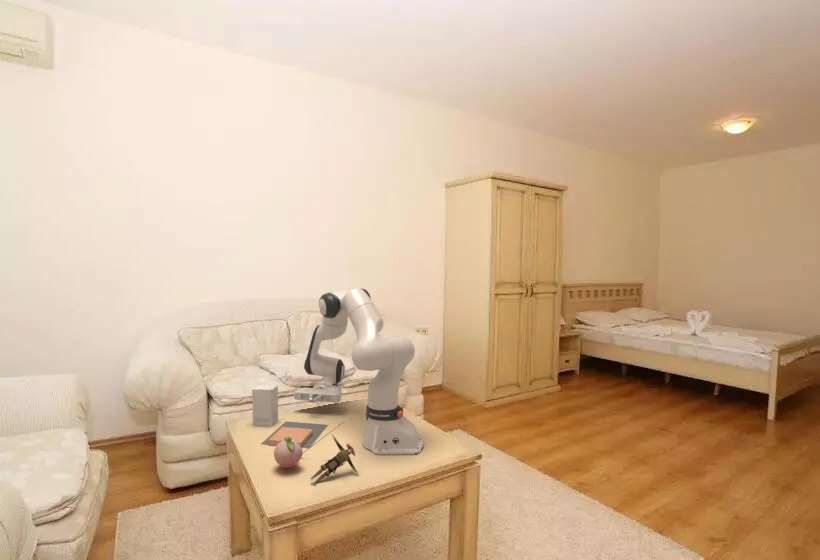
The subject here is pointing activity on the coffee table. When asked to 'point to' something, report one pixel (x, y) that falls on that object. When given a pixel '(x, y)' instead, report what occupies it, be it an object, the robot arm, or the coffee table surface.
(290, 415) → the coffee table surface
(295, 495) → the coffee table surface
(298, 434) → the tile
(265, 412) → the skincare box
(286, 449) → the decorative fruit
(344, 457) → the samurai figurine
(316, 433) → the mat
